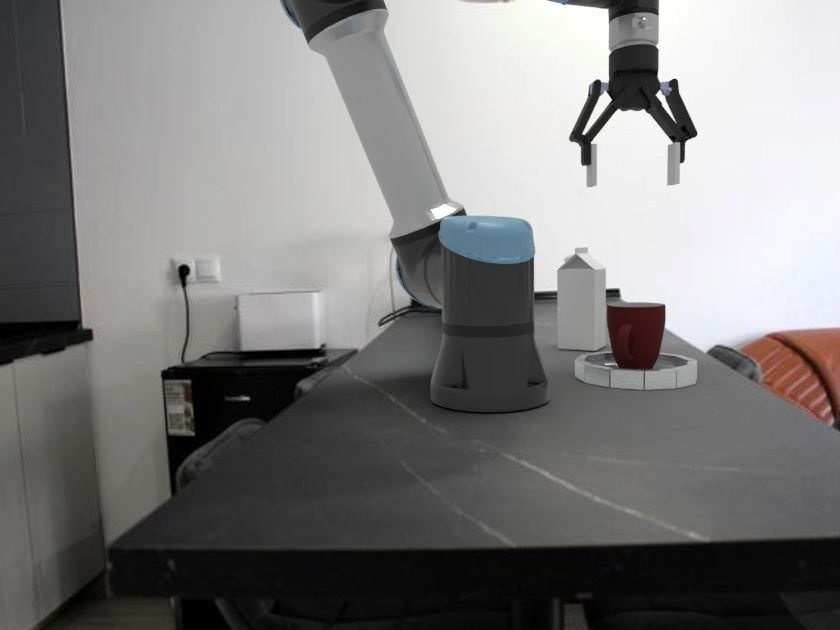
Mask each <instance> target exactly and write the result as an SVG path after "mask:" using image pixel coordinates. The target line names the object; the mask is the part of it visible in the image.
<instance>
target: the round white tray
mask: <svg viewBox="0 0 840 630" xmlns="http://www.w3.org/2000/svg"><path fill="white" fill-rule="evenodd" d="M574 377H575V378H576V379H578V380H579V381H581V382H583V383H585V384H590V385H595V386H598V387H599V386H600V387H603V388H605V387H606V388H611V389H622V390H623V389H624V390H640V391H652V390H671V389H672V390H673V389H674V390H676V389H681V388H684V387H689V386H693V385H696V384H697V380H698V360H697V359H695V358H691V357H688V356H685V355H682V354H677V353H675V354H674V353H669V352H668V353H666V352H661V351H660V354H659V357H658V359H657V361H656V363H655V365H654V366H653V368H652V369H645V370H641V369H622V368H619V367H618V365H617V363H616V361H615V359H614V357H613V354H612V350H611V351H609V350H608V351H597V352H596V351H595V352H592V353H591V352H589V353H584V354H580V355H579V356H578V357H576V358H575V359H574Z"/></svg>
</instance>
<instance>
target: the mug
mask: <svg viewBox="0 0 840 630" xmlns="http://www.w3.org/2000/svg"><path fill="white" fill-rule="evenodd" d="M666 310H667V309H666V304H665V303H659V302H643V301H642V302H641V301H640V302H639V301H638V302H637V301H633V302H630V301H629V302H628V301H627V302H614V303H613V302H612V303H608V304H606V323H607V324H606V326H607V331H608V338H609V342H610V343H609V344H610V349H611V351H612V354H613V357H614V359H615V361H616V363H617V365H618V367H619V368H622V369H641V370H645V369H652V368H653V366H654V365H655V363H656V361H657V359H658V357H659V354H660V352H661V348H662V343H663V337H664V333H665V327H666V317H667V316H666V314H667V313H666Z"/></svg>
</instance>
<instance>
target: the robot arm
mask: <svg viewBox="0 0 840 630" xmlns="http://www.w3.org/2000/svg"><path fill="white" fill-rule="evenodd" d="M546 1H547V2H551V3H557V4H560V5H562V6H566V5H567V6H568V5H569V6H578V7H588V8H596V9H597V8H598V9H604V10H608V11H607V12H608V13H607V14H608V50H609V51H610V54H608V82H605V81H604V82H602V80H601V79H599V78H598V79H595V80H594V81H593V82H591V83H589V86H588V93H587V99H586V100H585V103H584V105H583V107H582V108H581V111H580V113H579V115H578V117H577V120H576V122H575V124H574V126H573V129H571V132H570V135H569V137H568V140H569V141H570V143H575V144H578V146H579V147H580V164H581V166H582V167H583V166H584V167H586V188H593V187H595V186H597V185H598V160H597V159H598V144H597V143H593V141H594V139H595V138H596V137H597V136H598V135H599V133H600V132H601V131H602V129H603V128H604V126H606V125H607V123H608V122H609V121H610V119H611V118H612V117H613V116H614V114H615V113H616V112H617V111H618V110H620V111H621V112H627V111H632V112H633V111H634V112H640V111H643V110H644V111H645V112H646V113H647V114H648V115H649V116H651V118H652V119H653V120H654V121H655V122H656V124H657V126H659V127H660V128H661V130H662V131H663V133H664V134H665V135H666V137H668V140H670V141H671V142H672V143H670V144H668V145H667V171H666V173H667V179H666V180H667V181H666V185H667V186H676V185H679V184H680V182H681V181H680V179H681V177H680V175H681V172H680V170H681V164H683V163H685V160H686V143H687V141H690V140H692V139H694V138H697V136H698V133H699V132H698V131H697V128H696V126H695V124H694V122H693V119H692V118H691V115H690V112H689V111H688V109H687V106H686V105H685V103H684V100H683V98H682V96H681V93H680V87H679V80H678V79H677V78H672V79H671V80H669V81H668V80H666V81H660V79H659V69H660V68H659V66H660V65H659V62H660V61H659V57H660V56H659V55H660V50H659V48H658V47H657V46H658V45H659V41H660V40H659V39H660V38H659V37H660V36H659V35H660V29H659V28H660V18H659V17H660V16H659V15H660V13H659V12H660V0H546ZM279 2H280V6H281V8H282V10H283V12H284V14H285V15H286V16H287V18H288V19H289V21H291V23H292V24H294V26H295V27H296V28H298V29H300V30H301V31H302V32H301V33H302V34H303V36H304V38H305V41H306V44H307V45H308V48H309V49H310V51H312V52H315V53H317V54H318V55H321V56H323V57H324V58H325V59H326V60H325V61H326V62H327V65H328V67H329V70H330V72H331V74H332V76H333V79H334V82H335V84H336V85H337V88H338V91H339V93H340V95H341V98H342V100H343V102H344V105H345V108H346V109H347V110H346V111H347V112H348V114H349V117H350V119H351V122H352V124H353V128H354V129H355V132H356V133H357V136H358V138H359V141H360V144H361V145H362V148H363V151H364V153H365V156H366V158H367V160H368V163H369V165H370V167H371V170H372V172H373V175H374V176H375V177H374V178H375V179H376V182H377V184H378V186H379V189H380V191H381V194H382V196H383V199H384V201H385V203H386V206H387V208H388V210H389V213H390V214H391V215H390V216H391V217H392V220H393V221H392V223H393V224H392V226H391V229H390V231H389V234H388V237H389V240H390V243H391V245H392V248H393V249H394V252H395V255H396V259H395V274H396V278H397V280H398V283H399V285H400V287H401V288H402V290H403V291H404V292H405V293H406V294H407V295H408V297H410V298H411V299H412V300H414V301H416V302H418V303H419V304H421V305H422V306H425V307H429V308H430V309H436V310H437V309H438V310H441V323H442V325H441V326H442V340H441V345H440V348H439V352H438V356H437V358H436V362H435V366H434V369H433V372H432V376H431V379H430V385H429V386H430V390H429V391H430V401H431V402H432V403H433V404H435V405H436V406H440V407H443V408H446V409H449V410H450V409H451V410H456V411H464V412H475V413H477V412H478V413H503V412H514V411H515V412H516V411H522V410H523V411H524V410H528V409H532V408H536V407H541V406H543V405H545V404H546V403H548V401H549V400H550V380H549V378H548V375H547V371H546V369H545V365H544V362H543V360H542V356H541V354H540V350H539V348H538V344H537V341H536V334H535V255H536V246H535V240H534V232H533V231H534V230H533V227H532V225H531V224H530V222H529V221H528V220H527V219H523V218H519V217H512V216H494V215H468V214H467V212H466V209H465V206H464V204H462V203H459V202H457V201H455V200H454V199H453V200H452V198H451V197H449V194H448V192H447V190H446V187H445V185H444V182H443V180H442V176H441V174H440V172H439V169H438V167H437V165H436V162H435V159H434V157H433V154H432V151H431V149H430V146H429V144H428V142H427V138H426V135H425V133H424V131H423V129H422V126H421V123H420V121H419V118H418V116H417V113H416V111H415V108H414V106H413V102H412V101H411V97H410V95H409V93H408V91H407V88H406V85H405V83H404V81H403V77H402V74H401V72H400V70H399V68H398V65H397V62H396V60H395V58H394V54H393V52H392V50H391V46H390V45H389V44H390V43H389V42H388V39H387V37H386V34H385V27H386V24H387V22H388V20H389V16H390V14H389V10H388V8H387V5H386V2H385V0H279ZM659 91H660V92H661V96H663V97H664V99H665V102H666V104H667V106H668V108H669V110H670V113H671V115H672V116H671V115H670V113H668V111H667V110H666V108H665V107H664V106H663V102H662V101H661V99H659V97H658V96H657V95H658V93H659ZM605 92H606V94H607V95H608V96H609V98H610V99H611V100H610V102H609V103H608V104H607V105H606V107H605V108H604V110H603V112H601V114H600V115H599V116H598V118H596V120H595V121H594V122H593V124H592V125H591V126H590V127H589V129H588V130H587V132H585V134H583V133H584V131H585V129H586V126H587V125H588V123H589V121H590V119H591V116H592V114H593V112H594V111H595V108H596V106H597V104H598V101H599V99H600V97H601V96H603V95H604V93H605Z"/></svg>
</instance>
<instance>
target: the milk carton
mask: <svg viewBox="0 0 840 630" xmlns="http://www.w3.org/2000/svg"><path fill="white" fill-rule="evenodd" d="M563 261H564V263H563V264H562V265H561V266H560V267H559V268H558V269H557V271H556V273H557V274H556V275H557V276H556V278H557V279H556V280H557V282H556V283H557V290H556V291H557V295H556V296H557V301H556V302H557V309H556V312H557V350H570V351H571V350H572V351H587V352H589V351H591V352H596V351H598V350H600V349H602V348H604V347H605V346H607V345H606V344H607V343H606V339H607V335H606V333H607V332H606V331H607V329H606V328H607V327H606V326H607V324H606V323H607V299H606V298H607V295H606V294H607V293H606V292H607V288H606V287H607V285H606V283H607V276H606V275H607V272H606V271H607V270H606V269H607V268H606V267H605V266H604V265H603V264H601V262H599V261H598V260H597V259H596V258H595V257H594V256H592V255H591V254H590V253H589V247H586V246H585V247H575V248H574V253H570V254H568V255H567V256H566V257H564V259H563Z"/></svg>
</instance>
